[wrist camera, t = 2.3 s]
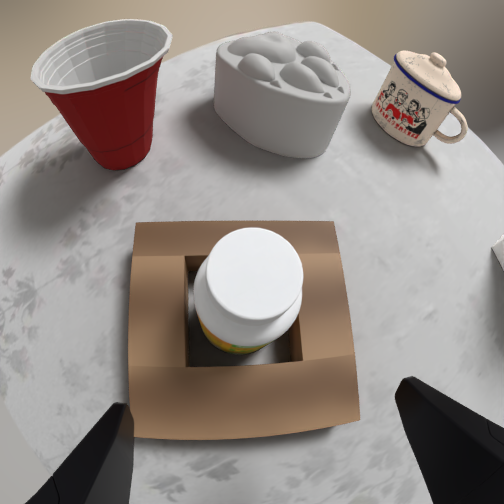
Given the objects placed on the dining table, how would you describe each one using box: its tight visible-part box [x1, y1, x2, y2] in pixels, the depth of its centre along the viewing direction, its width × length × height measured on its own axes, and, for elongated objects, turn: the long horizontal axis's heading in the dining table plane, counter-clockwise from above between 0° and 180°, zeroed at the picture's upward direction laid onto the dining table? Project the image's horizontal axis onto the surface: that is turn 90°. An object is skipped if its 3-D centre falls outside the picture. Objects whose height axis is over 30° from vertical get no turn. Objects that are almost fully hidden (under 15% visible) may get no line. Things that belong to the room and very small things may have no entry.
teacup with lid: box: [372, 51, 468, 147], centre depth 27 cm, size 12×9×12 cm
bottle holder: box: [128, 221, 360, 440], centre depth 19 cm, size 14×14×3 cm
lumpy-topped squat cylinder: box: [214, 32, 351, 158], centre depth 25 cm, size 10×13×9 cm
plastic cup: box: [31, 19, 172, 170], centre depth 20 cm, size 11×11×12 cm
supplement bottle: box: [193, 228, 303, 355], centre depth 16 cm, size 5×5×10 cm
